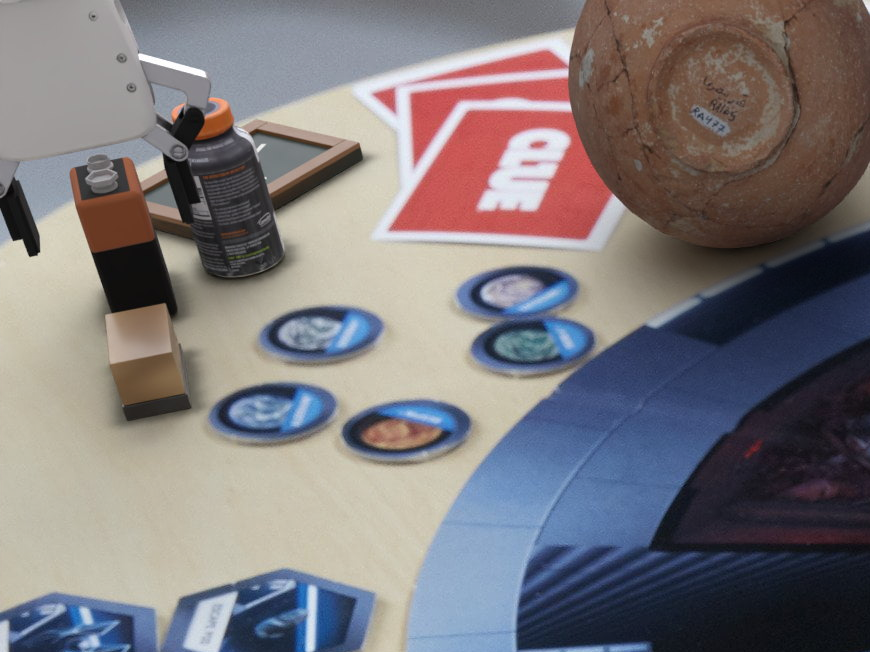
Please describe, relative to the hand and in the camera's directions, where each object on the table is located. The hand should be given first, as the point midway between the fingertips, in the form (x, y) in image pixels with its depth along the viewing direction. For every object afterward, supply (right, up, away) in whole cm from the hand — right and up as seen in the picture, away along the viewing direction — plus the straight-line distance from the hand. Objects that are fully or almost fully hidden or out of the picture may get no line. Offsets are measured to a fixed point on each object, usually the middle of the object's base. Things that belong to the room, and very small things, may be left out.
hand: (111, 231), depth 152 cm
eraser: (0, -8, +7) cm, 11 cm away
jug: (+38, +9, +3) cm, 40 cm away
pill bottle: (+2, +4, +21) cm, 21 cm away
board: (-2, +13, +30) cm, 33 cm away
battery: (-4, 0, +17) cm, 17 cm away
